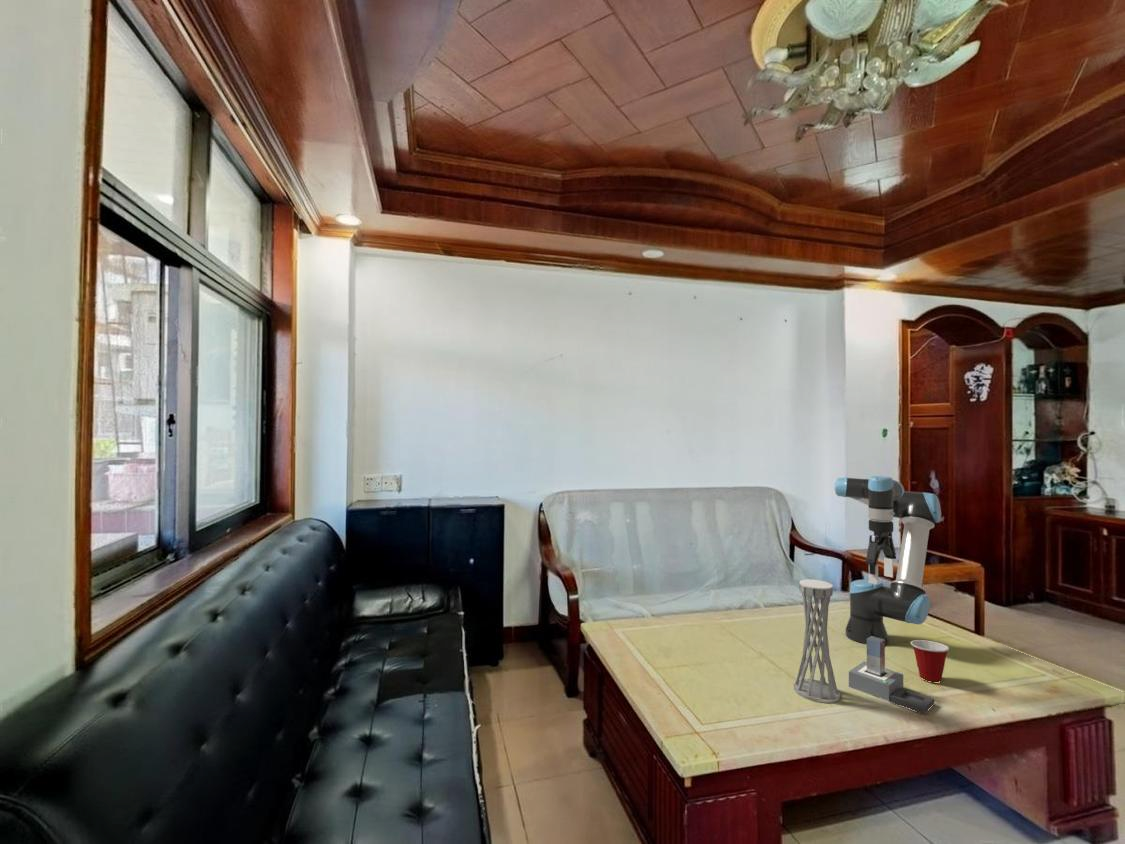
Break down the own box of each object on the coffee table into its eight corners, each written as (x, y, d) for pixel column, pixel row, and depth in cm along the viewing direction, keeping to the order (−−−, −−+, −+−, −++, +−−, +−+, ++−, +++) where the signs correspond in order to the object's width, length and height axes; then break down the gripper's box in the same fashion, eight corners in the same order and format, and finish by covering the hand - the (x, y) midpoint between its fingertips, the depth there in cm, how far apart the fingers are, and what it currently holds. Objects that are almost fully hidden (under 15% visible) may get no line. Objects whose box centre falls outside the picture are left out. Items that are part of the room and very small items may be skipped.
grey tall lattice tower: (838, 707, 159) (837, 592, 159) (790, 695, 166) (790, 585, 166) (841, 688, 170) (840, 581, 171) (797, 678, 177) (796, 575, 178)
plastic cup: (928, 670, 183) (928, 636, 183) (957, 685, 173) (957, 649, 173) (902, 673, 181) (902, 639, 181) (931, 688, 170) (930, 652, 170)
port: (848, 686, 172) (848, 670, 172) (863, 675, 179) (863, 660, 179) (889, 701, 162) (889, 684, 162) (903, 689, 170) (903, 673, 170)
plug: (866, 684, 171) (866, 638, 171) (871, 680, 174) (871, 635, 174) (880, 689, 168) (879, 642, 168) (885, 685, 170) (884, 639, 171)
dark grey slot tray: (890, 702, 162) (890, 696, 162) (901, 693, 167) (901, 687, 167) (924, 715, 155) (924, 708, 155) (934, 705, 160) (934, 698, 160)
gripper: (878, 525, 174) (878, 589, 174) (905, 517, 189) (906, 576, 189) (854, 522, 180) (854, 583, 179) (883, 515, 195) (883, 571, 195)
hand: (881, 580), depth 184 cm, fingers open, 13 cm apart
